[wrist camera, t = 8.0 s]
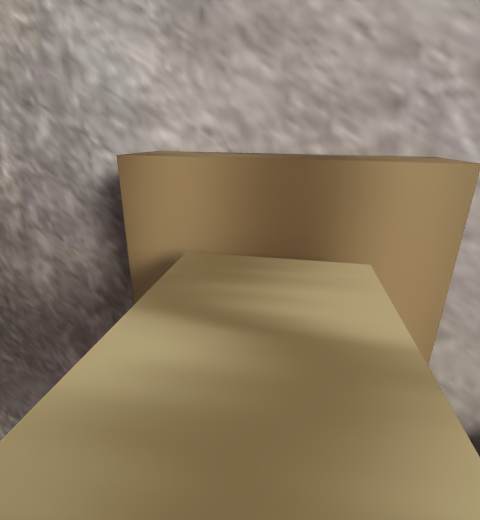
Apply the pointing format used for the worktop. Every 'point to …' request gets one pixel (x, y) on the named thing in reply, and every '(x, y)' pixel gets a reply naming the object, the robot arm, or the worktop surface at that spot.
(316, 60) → the worktop surface
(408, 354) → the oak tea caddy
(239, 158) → the walnut block
